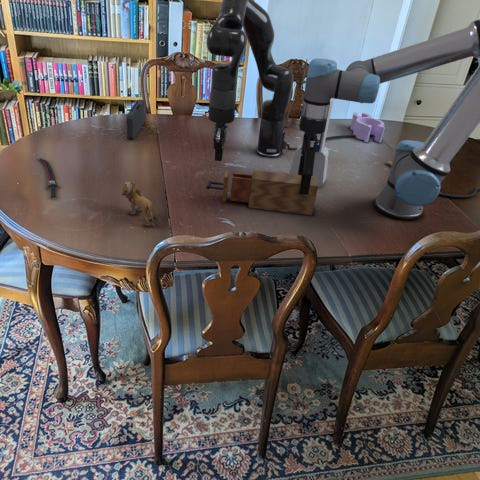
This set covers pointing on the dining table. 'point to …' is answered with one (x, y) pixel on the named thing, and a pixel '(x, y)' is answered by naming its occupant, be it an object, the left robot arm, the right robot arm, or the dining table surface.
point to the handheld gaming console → (135, 119)
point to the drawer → (235, 186)
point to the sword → (52, 181)
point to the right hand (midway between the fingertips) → (302, 184)
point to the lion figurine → (137, 201)
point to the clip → (367, 127)
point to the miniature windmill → (296, 68)
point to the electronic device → (320, 156)
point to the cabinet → (281, 193)
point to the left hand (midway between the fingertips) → (218, 160)
